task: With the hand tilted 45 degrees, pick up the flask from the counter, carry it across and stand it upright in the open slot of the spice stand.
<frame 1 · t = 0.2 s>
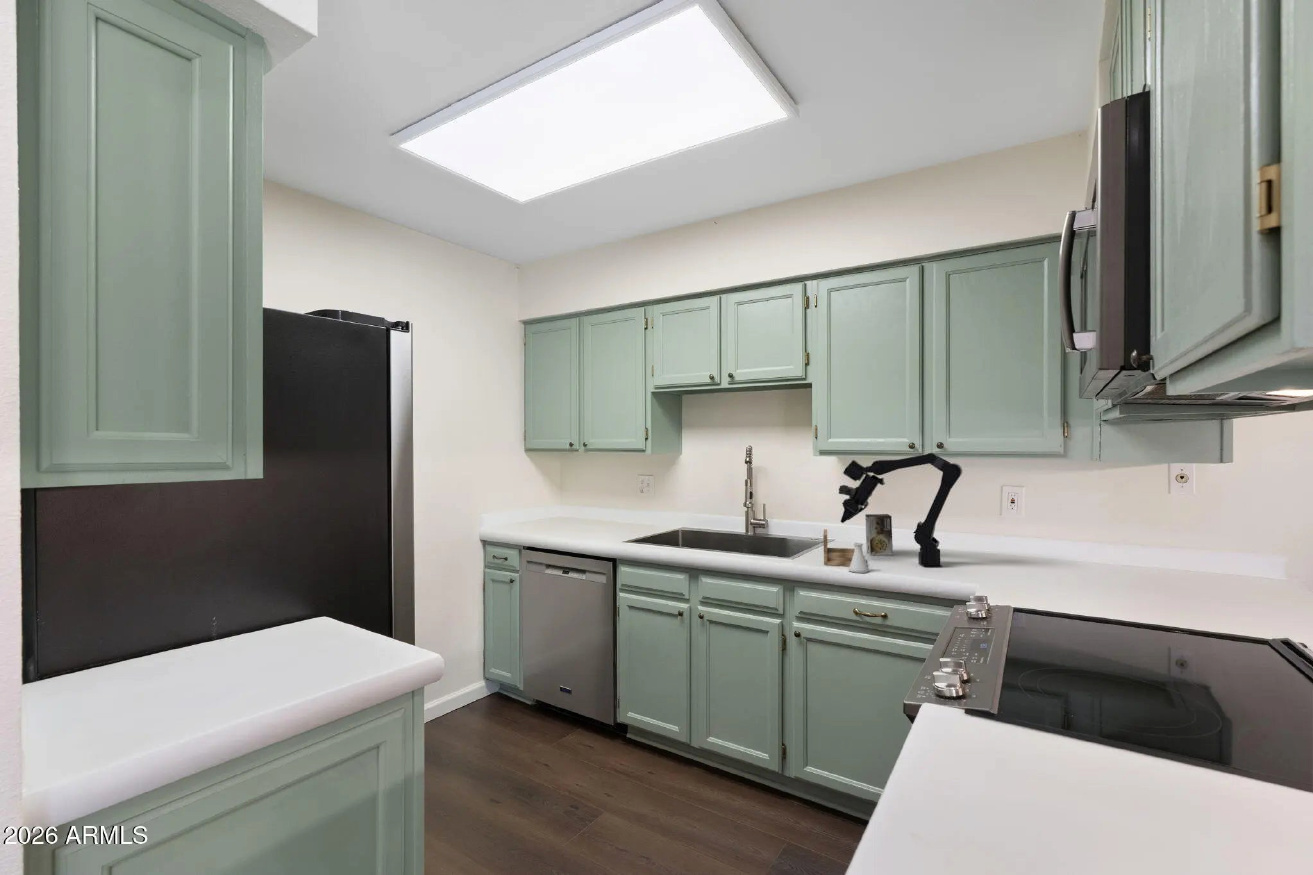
hand: (844, 520, 237), 15 cm above the counter, tool tilted 35°, fingers open, 9 cm apart
flask: (858, 571, 214), on the counter
spice stand: (846, 562, 229), on the counter
coffee box: (879, 554, 243), on the counter
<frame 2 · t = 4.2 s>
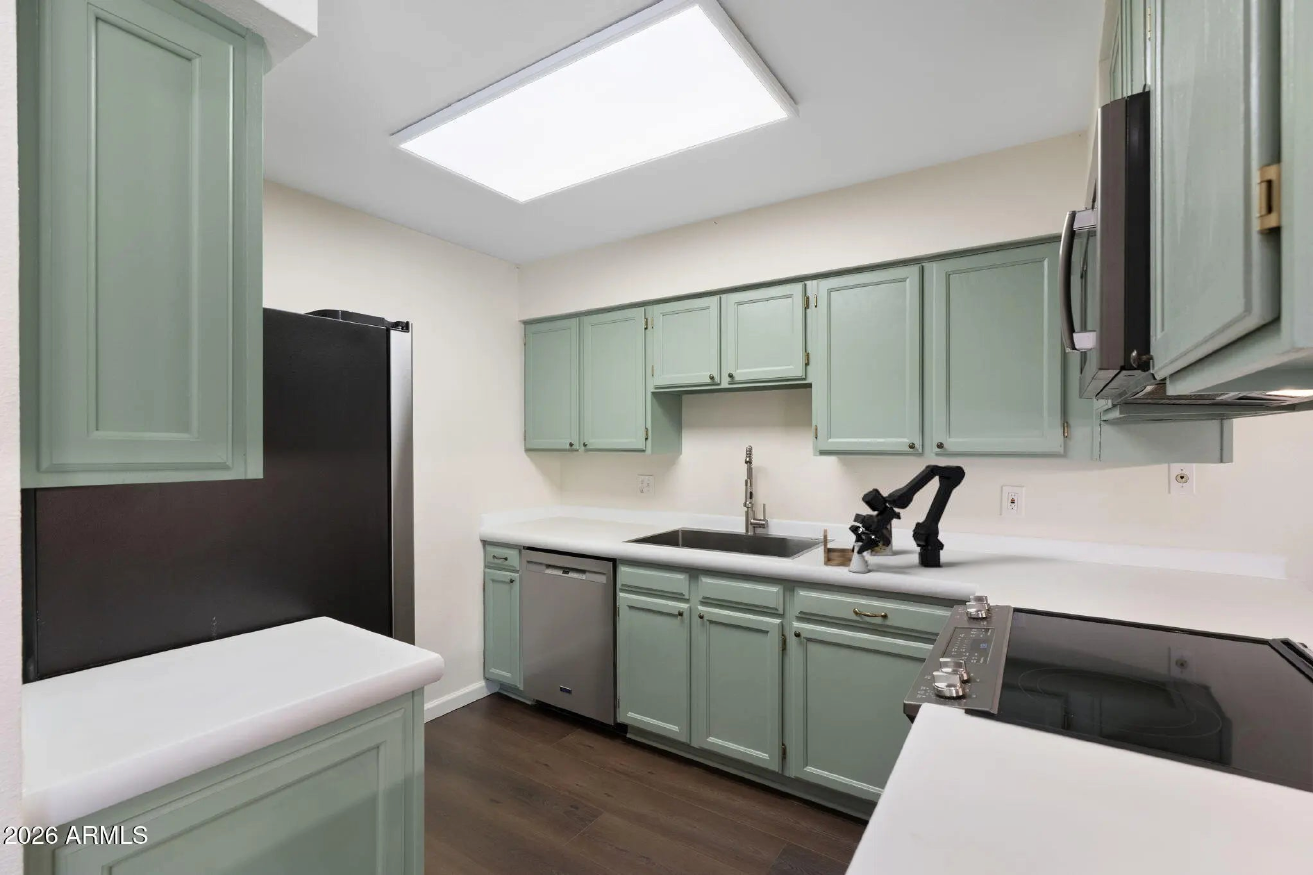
hand: (854, 552, 213), 7 cm above the counter, tool tilted 45°, fingers closed on flask, 3 cm apart
flask: (858, 571, 214), on the counter, touching gripper
everything else where it was.
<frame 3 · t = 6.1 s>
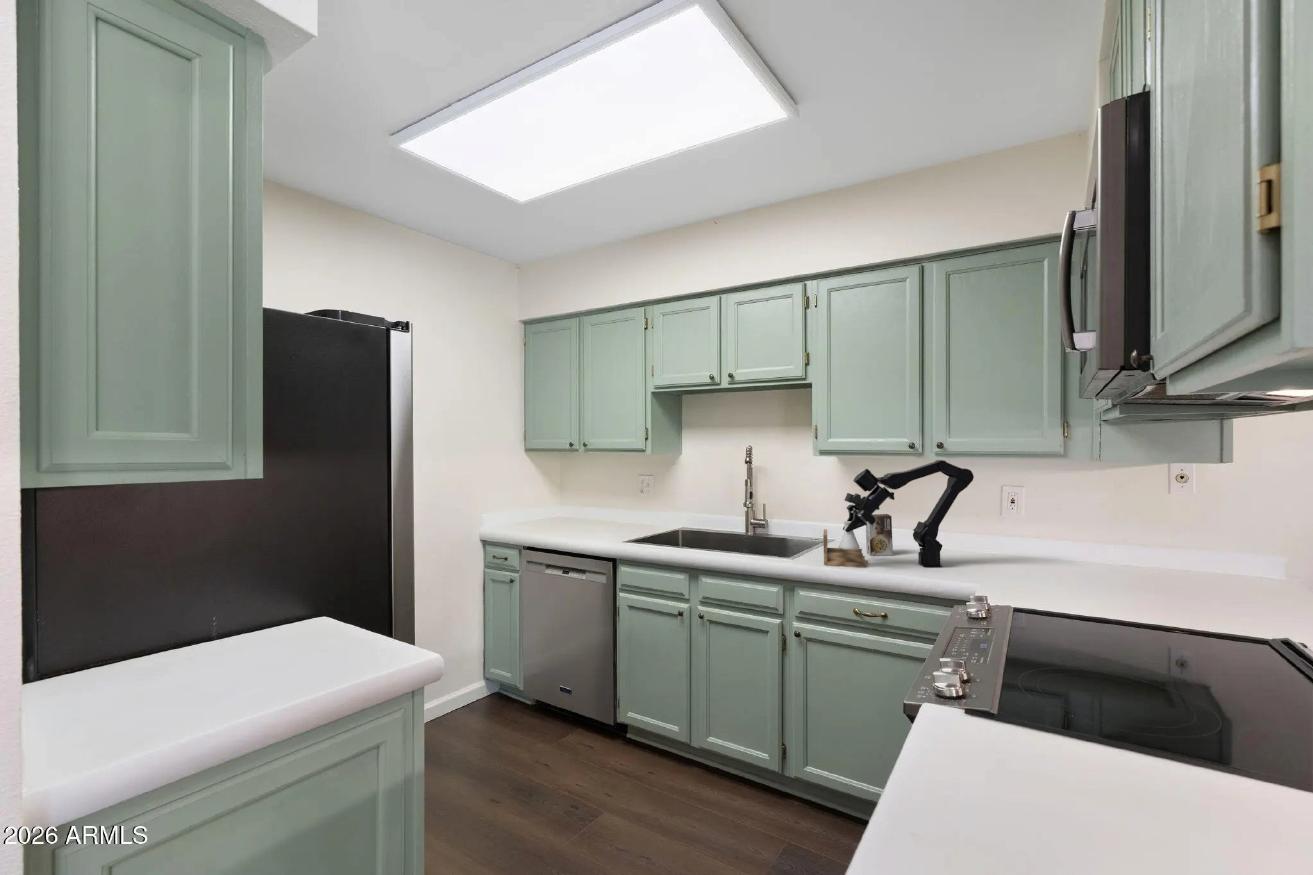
hand: (844, 530, 222), 13 cm above the counter, tool tilted 45°, fingers closed on flask, 3 cm apart
flask: (849, 549, 222), point 6 cm above the counter, touching gripper
everything else where it was.
when the fingers open (9 cm above the counter, at t = 7.8 s): flask drops 1 cm, resting on spice stand.
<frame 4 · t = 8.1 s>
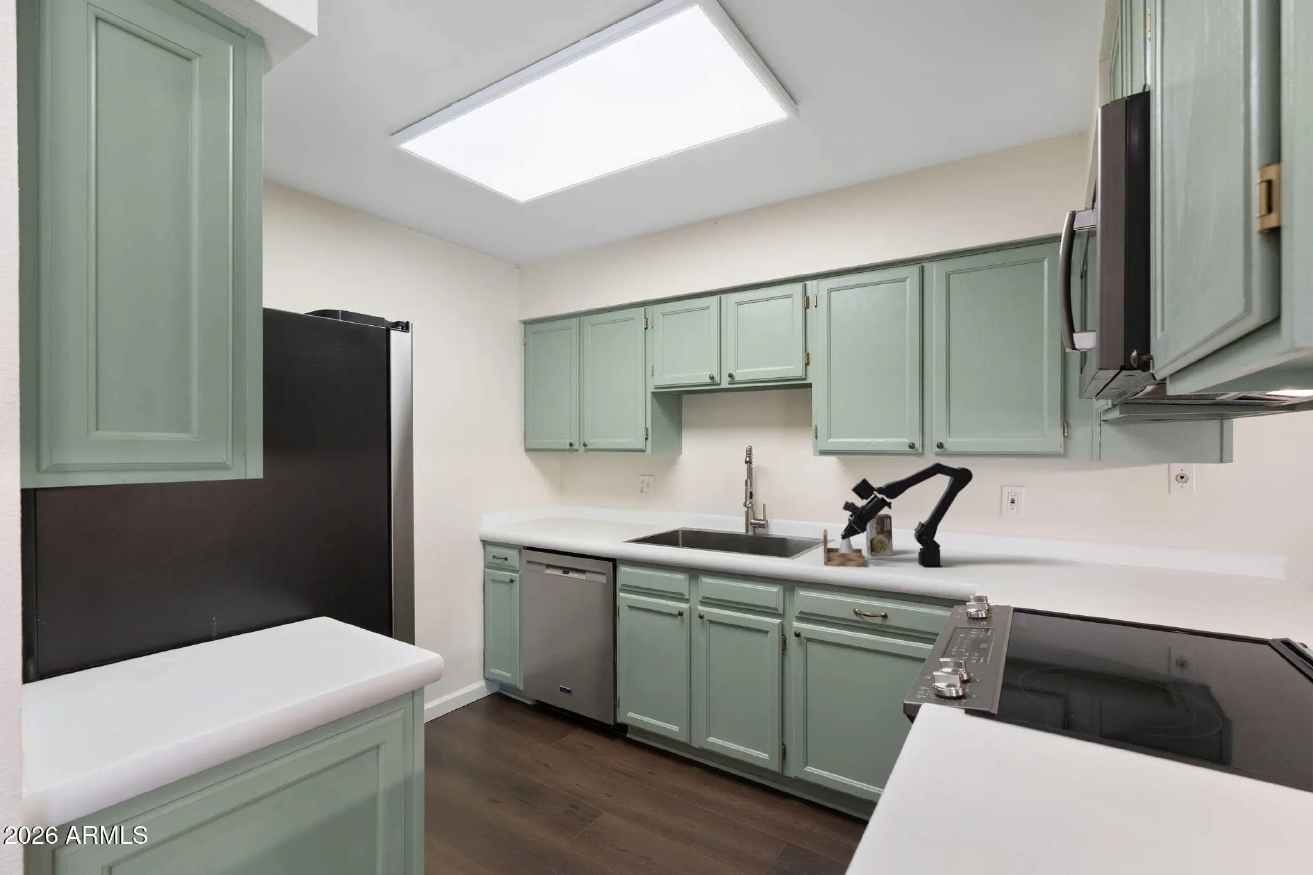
hand: (841, 537, 229), 10 cm above the counter, tool tilted 45°, fingers open, 6 cm apart
flask: (846, 559, 229), point 1 cm above the counter, touching spice stand
everything else where it was.
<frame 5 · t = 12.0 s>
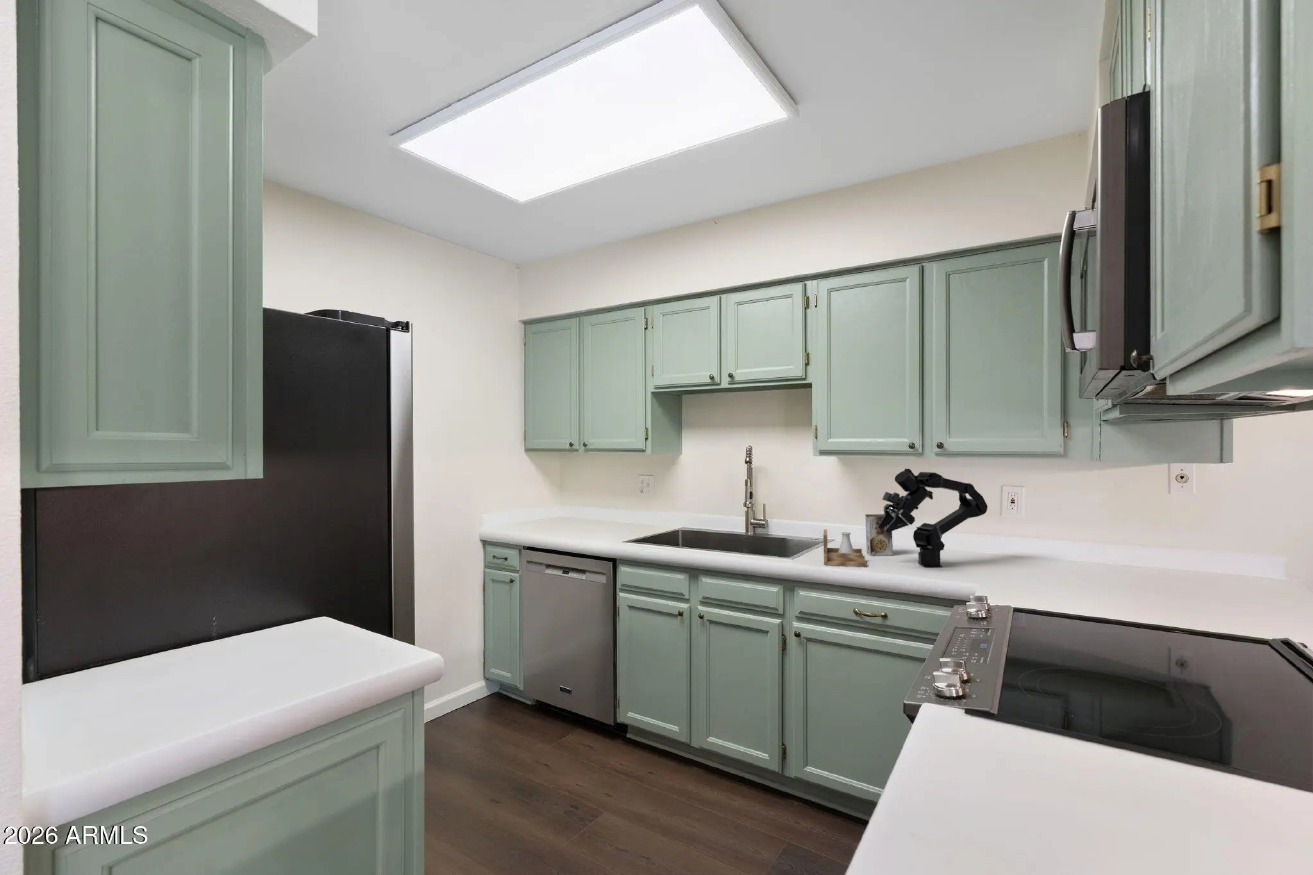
hand: (882, 530, 220), 14 cm above the counter, tool tilted 45°, fingers open, 9 cm apart
nothing on the counter moved.
at the end: flask 0.2 cm off-centre on the spice stand, point 1.3 cm above the spice stand's base; flask tilted 0°; the gripper is holding nothing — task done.
